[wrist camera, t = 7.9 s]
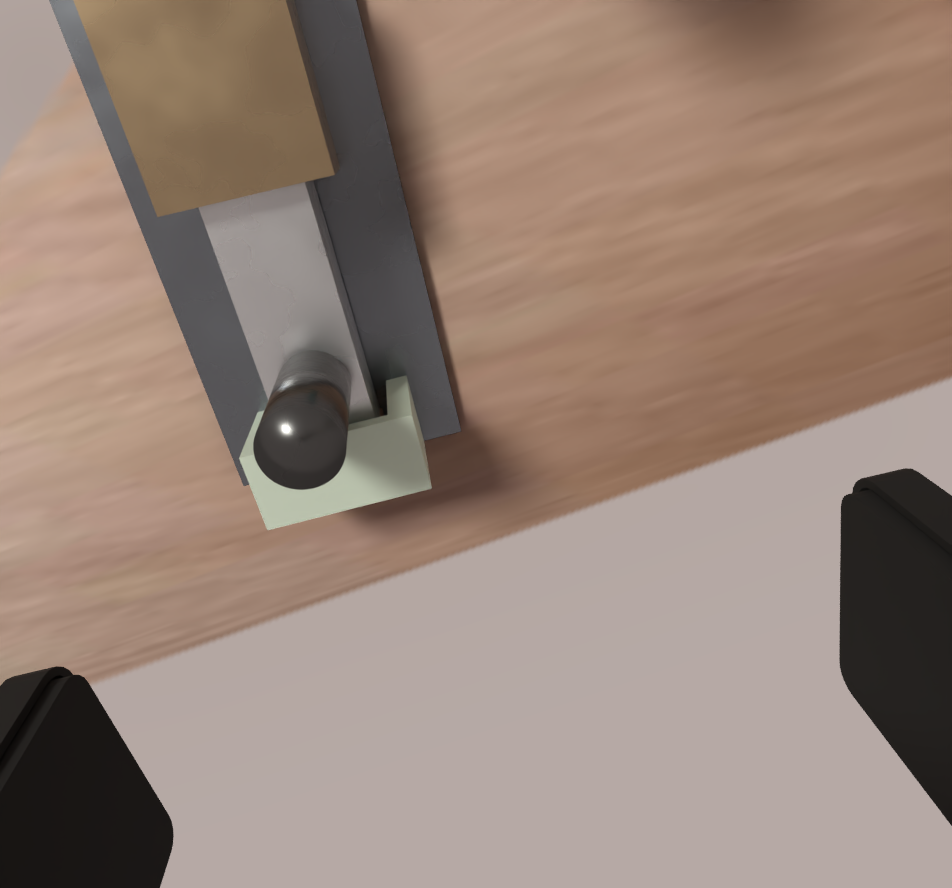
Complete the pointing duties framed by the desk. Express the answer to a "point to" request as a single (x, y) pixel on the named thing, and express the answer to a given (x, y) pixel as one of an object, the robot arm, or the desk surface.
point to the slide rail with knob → (259, 172)
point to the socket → (352, 466)
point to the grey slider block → (294, 330)
